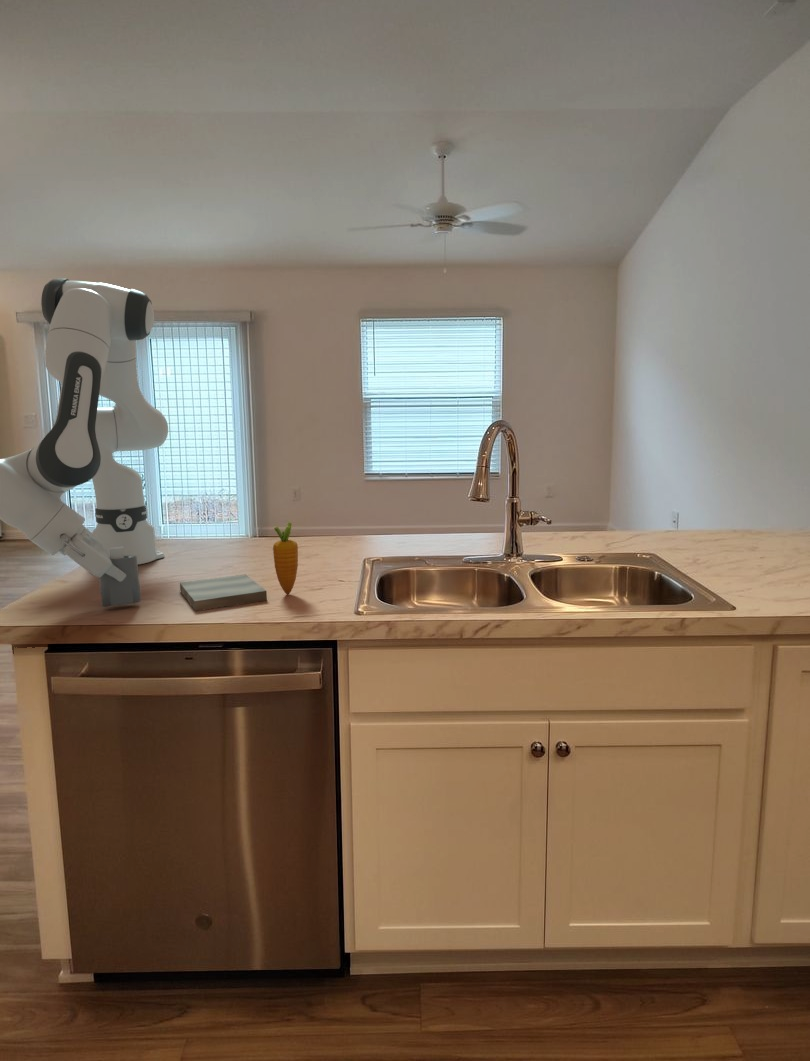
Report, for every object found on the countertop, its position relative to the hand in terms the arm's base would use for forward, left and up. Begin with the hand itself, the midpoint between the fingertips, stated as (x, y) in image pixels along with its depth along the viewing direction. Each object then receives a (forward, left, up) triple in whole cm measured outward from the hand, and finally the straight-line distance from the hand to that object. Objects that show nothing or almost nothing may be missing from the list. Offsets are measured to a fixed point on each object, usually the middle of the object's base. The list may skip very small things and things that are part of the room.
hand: (122, 575), depth 130 cm
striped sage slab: (+2, +18, -6) cm, 20 cm away
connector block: (0, -1, -5) cm, 5 cm away
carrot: (+8, +30, -7) cm, 32 cm away
